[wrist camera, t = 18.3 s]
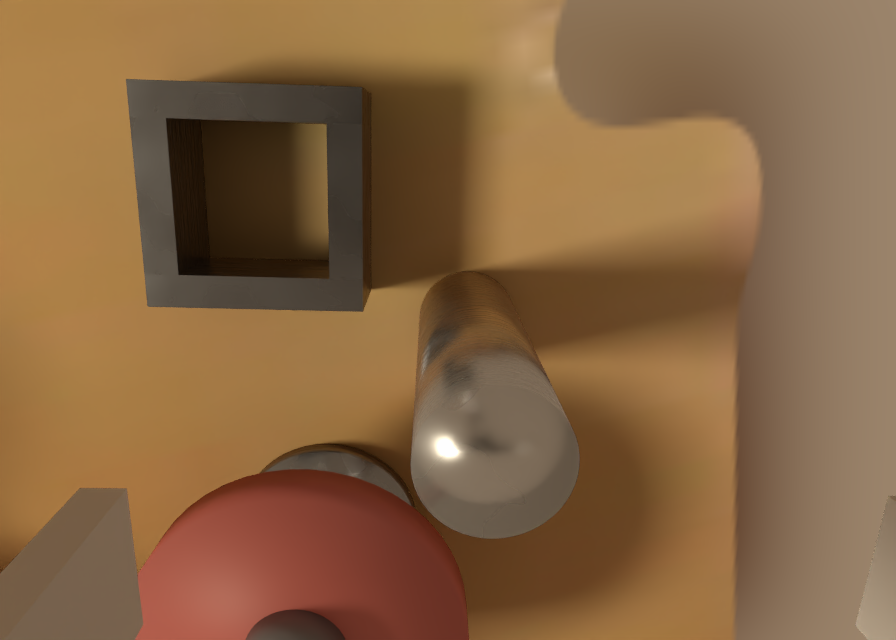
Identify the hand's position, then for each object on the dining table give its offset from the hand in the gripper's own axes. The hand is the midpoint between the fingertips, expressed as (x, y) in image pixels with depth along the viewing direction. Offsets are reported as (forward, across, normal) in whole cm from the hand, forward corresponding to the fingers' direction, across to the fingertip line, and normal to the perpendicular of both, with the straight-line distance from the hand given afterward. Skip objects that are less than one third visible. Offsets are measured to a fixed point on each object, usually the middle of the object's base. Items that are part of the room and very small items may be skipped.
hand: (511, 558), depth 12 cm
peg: (+17, 0, -1) cm, 17 cm away
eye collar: (+17, -8, +4) cm, 19 cm away
